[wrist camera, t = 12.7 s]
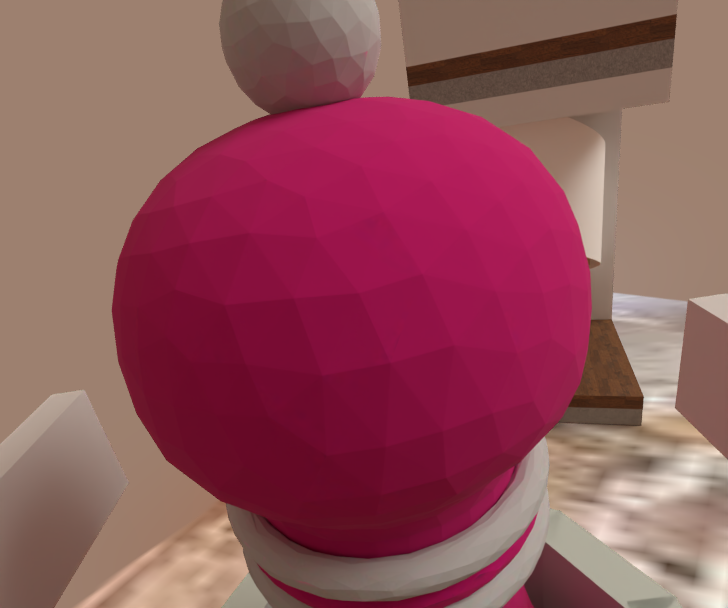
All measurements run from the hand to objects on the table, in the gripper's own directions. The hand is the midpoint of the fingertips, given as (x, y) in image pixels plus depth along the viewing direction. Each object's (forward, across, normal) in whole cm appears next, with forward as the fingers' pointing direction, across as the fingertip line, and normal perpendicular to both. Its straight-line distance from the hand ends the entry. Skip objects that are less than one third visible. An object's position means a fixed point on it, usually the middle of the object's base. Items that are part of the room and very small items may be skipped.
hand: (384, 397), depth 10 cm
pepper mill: (-3, 0, -12) cm, 13 cm away
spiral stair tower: (+20, +10, -14) cm, 27 cm away
